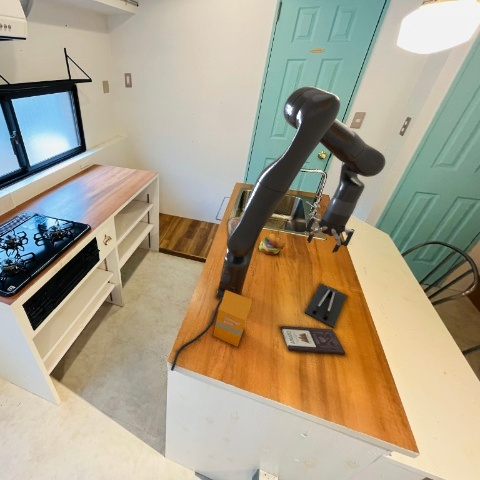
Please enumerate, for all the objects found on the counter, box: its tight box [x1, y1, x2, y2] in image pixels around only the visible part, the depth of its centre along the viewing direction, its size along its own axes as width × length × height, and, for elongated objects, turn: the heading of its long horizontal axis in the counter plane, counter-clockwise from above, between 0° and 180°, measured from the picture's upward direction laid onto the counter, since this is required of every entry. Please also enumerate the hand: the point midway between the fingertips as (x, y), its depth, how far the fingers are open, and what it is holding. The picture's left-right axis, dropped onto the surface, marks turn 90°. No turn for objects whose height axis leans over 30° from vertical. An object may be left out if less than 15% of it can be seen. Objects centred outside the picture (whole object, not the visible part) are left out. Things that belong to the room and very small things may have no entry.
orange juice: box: [212, 290, 253, 347], centre depth 85 cm, size 8×9×20 cm
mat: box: [304, 283, 347, 329], centre depth 102 cm, size 21×10×1 cm, turn 138°
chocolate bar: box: [280, 325, 346, 355], centre depth 88 cm, size 9×1×18 cm
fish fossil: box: [227, 216, 242, 236], centre depth 146 cm, size 26×10×1 cm, turn 168°
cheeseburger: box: [258, 233, 286, 256], centre depth 129 cm, size 10×11×10 cm
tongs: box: [312, 286, 338, 320], centre depth 100 cm, size 16×5×3 cm, turn 138°
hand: (321, 246), depth 97 cm, fingers open, 8 cm apart
